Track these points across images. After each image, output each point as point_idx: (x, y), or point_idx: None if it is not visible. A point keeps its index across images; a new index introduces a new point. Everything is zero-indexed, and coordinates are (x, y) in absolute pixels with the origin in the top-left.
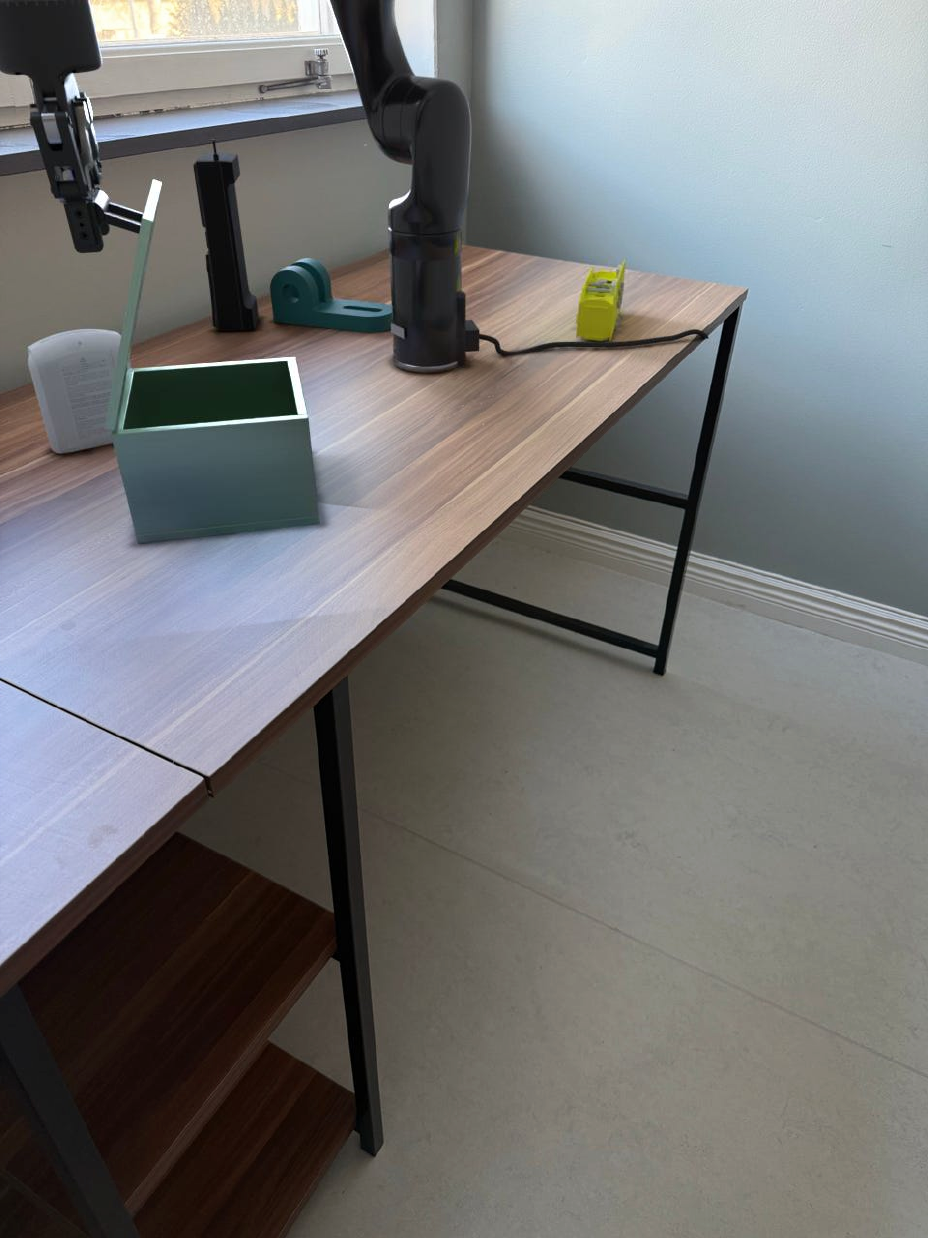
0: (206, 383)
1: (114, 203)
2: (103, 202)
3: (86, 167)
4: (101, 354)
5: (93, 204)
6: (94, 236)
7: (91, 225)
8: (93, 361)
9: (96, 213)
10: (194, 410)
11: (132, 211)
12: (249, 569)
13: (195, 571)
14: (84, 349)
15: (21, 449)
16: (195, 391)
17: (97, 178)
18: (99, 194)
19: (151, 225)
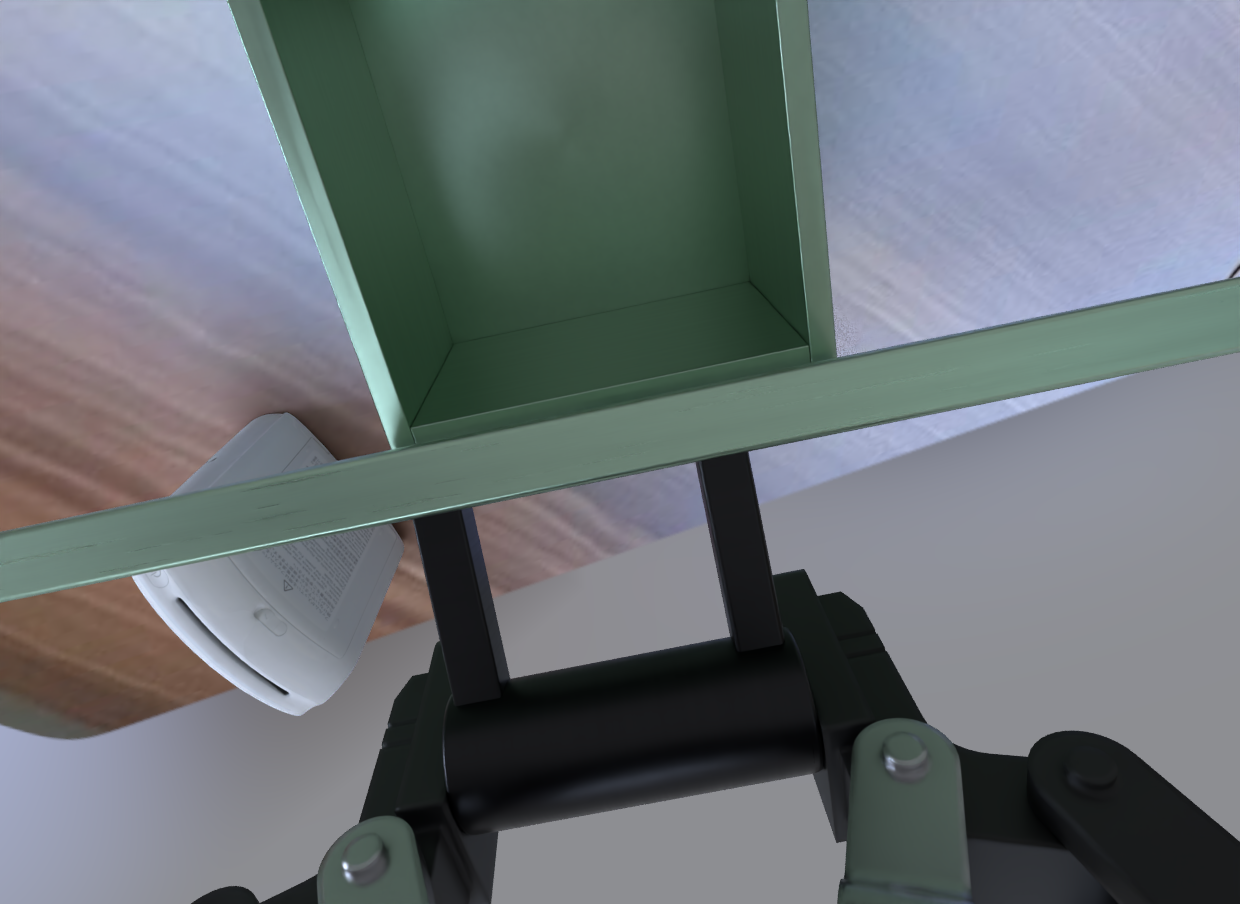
0: (356, 224)
1: (454, 679)
2: (665, 700)
3: (967, 896)
4: (248, 554)
5: (858, 710)
6: (856, 617)
7: (884, 652)
8: (273, 563)
9: (808, 676)
10: (392, 258)
11: (475, 567)
12: (895, 25)
13: (884, 147)
14: (267, 595)
15: (381, 618)
16: (374, 256)
17: (416, 852)
18: (570, 759)
19: None
